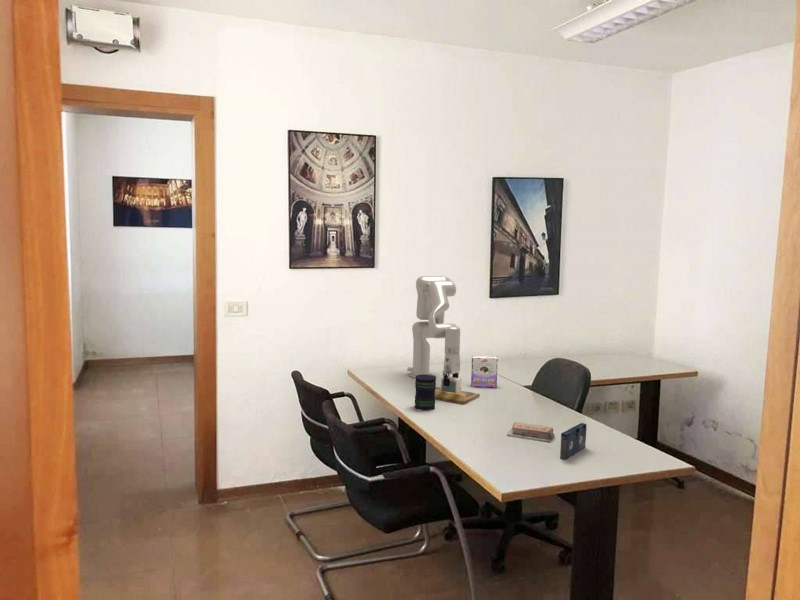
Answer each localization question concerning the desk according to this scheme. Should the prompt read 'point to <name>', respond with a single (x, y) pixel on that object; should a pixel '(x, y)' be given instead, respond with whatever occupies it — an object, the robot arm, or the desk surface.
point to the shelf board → (455, 396)
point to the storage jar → (425, 392)
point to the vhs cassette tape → (573, 441)
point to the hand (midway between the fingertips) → (450, 383)
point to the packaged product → (531, 432)
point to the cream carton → (452, 385)
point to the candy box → (484, 371)
